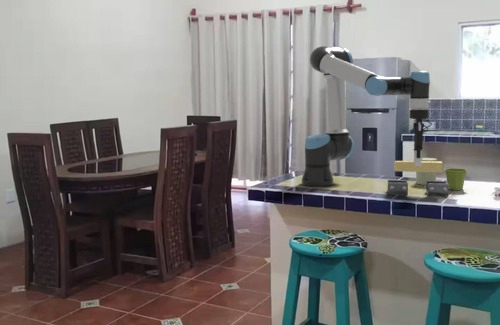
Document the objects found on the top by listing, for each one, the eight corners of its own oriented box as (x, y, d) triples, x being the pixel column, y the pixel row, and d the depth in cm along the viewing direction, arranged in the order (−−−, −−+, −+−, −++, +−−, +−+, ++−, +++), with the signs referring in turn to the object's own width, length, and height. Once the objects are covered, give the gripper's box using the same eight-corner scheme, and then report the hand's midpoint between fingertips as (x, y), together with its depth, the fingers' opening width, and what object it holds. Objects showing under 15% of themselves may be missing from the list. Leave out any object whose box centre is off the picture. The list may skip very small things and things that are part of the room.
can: (414, 181, 246) (415, 156, 244) (434, 181, 244) (435, 156, 242) (416, 184, 237) (417, 159, 235) (437, 185, 235) (438, 159, 233)
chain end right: (428, 195, 211) (428, 184, 210) (426, 192, 219) (426, 180, 218) (448, 196, 209) (449, 184, 208) (445, 192, 217) (446, 181, 216)
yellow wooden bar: (394, 171, 215) (394, 161, 214) (394, 170, 218) (394, 160, 218) (442, 172, 210) (442, 162, 210) (441, 170, 214) (441, 161, 213)
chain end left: (388, 194, 214) (388, 183, 214) (387, 191, 223) (387, 179, 222) (407, 195, 212) (408, 183, 212) (406, 191, 221) (406, 180, 220)
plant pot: (440, 187, 229) (441, 168, 228) (461, 187, 229) (462, 168, 228) (448, 191, 220) (448, 171, 219) (470, 190, 220) (470, 171, 218)
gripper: (430, 109, 202) (428, 168, 205) (426, 108, 218) (425, 162, 221) (410, 109, 204) (409, 167, 207) (408, 108, 220) (407, 162, 223)
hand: (417, 164), depth 214 cm, fingers closed on yellow wooden bar, 3 cm apart
